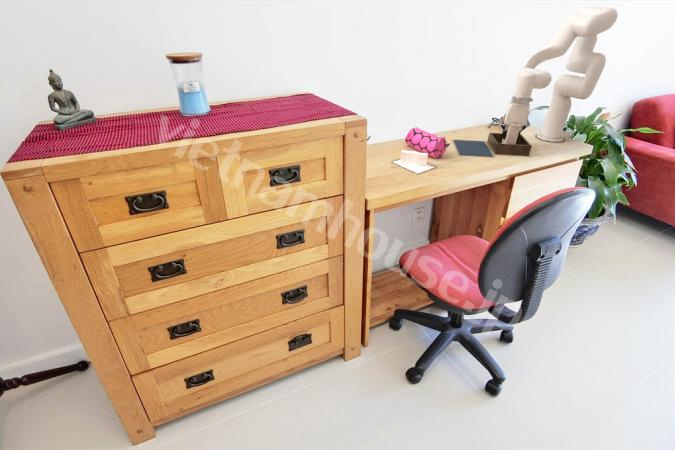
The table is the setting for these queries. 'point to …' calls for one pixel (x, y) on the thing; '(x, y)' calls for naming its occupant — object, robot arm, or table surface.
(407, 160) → the napkin holder
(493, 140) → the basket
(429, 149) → the pencil case
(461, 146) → the mat
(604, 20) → the robot arm
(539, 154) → the table surface
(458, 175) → the table surface
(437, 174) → the table surface
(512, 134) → the supplement box
